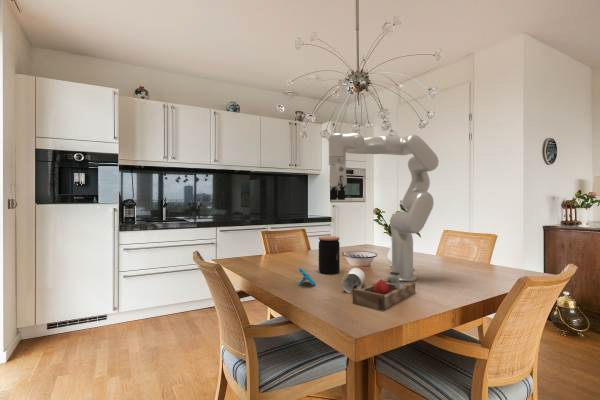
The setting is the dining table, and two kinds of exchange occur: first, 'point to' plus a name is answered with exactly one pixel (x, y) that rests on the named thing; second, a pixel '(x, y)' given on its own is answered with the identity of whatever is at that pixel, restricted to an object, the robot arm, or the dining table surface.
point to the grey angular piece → (394, 281)
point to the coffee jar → (329, 255)
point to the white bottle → (353, 280)
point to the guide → (381, 296)
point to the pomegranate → (381, 287)
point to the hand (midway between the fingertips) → (337, 199)
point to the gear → (305, 277)
